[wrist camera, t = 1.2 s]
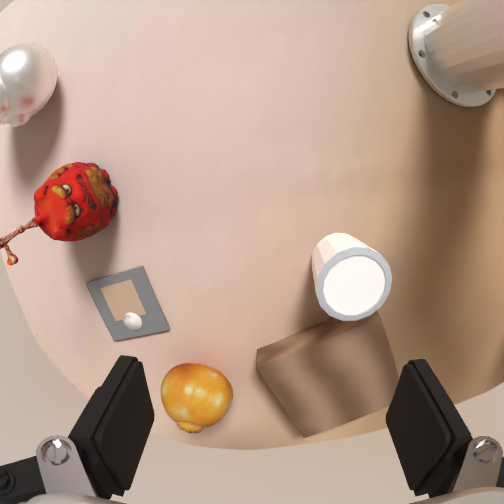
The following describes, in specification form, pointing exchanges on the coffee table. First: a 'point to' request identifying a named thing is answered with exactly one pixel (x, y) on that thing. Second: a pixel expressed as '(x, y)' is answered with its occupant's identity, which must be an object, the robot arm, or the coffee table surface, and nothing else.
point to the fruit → (195, 396)
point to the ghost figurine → (25, 82)
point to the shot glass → (349, 277)
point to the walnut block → (331, 373)
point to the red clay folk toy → (70, 205)
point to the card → (128, 304)
